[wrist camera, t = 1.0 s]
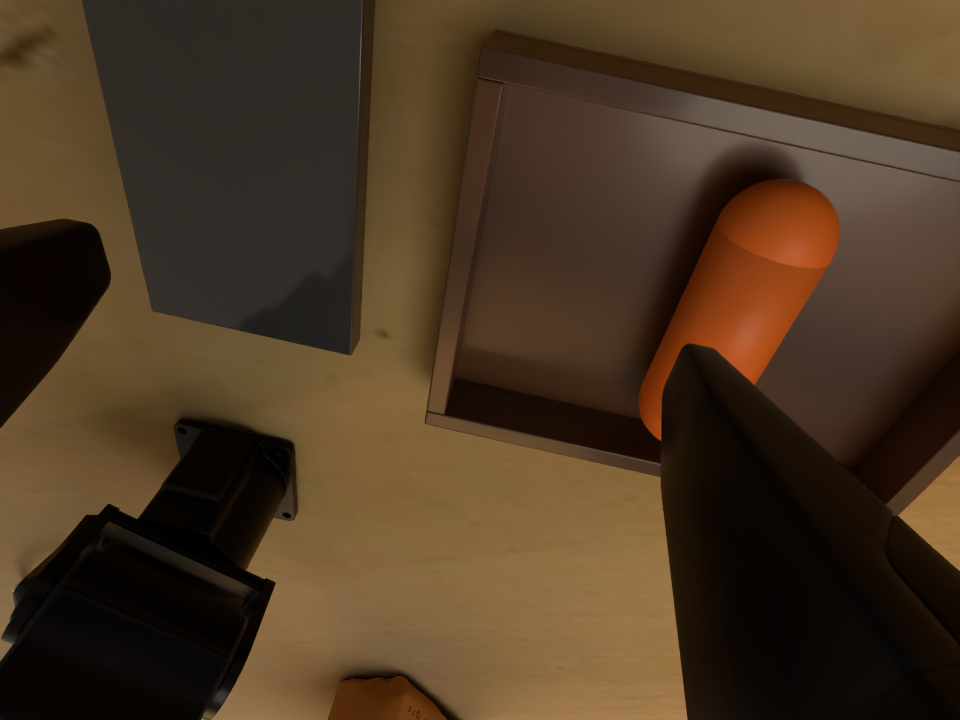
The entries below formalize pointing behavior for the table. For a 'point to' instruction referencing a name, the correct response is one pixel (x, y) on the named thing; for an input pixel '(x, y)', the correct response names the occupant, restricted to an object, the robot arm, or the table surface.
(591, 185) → the tray
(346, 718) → the coffee package
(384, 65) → the table surface
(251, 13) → the slate board
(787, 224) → the orange capsule
